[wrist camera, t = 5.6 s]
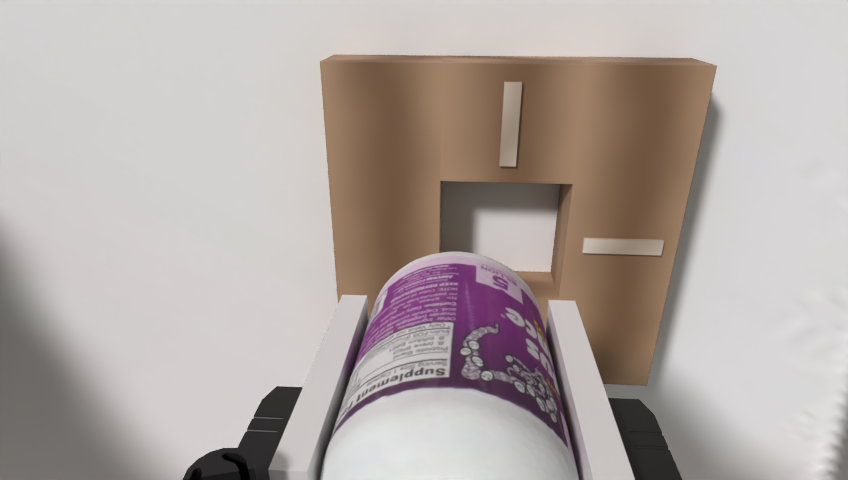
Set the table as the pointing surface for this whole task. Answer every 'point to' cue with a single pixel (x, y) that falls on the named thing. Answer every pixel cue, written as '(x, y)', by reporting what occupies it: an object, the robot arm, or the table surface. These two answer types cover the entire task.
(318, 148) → the table surface
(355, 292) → the board
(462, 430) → the pill bottle
